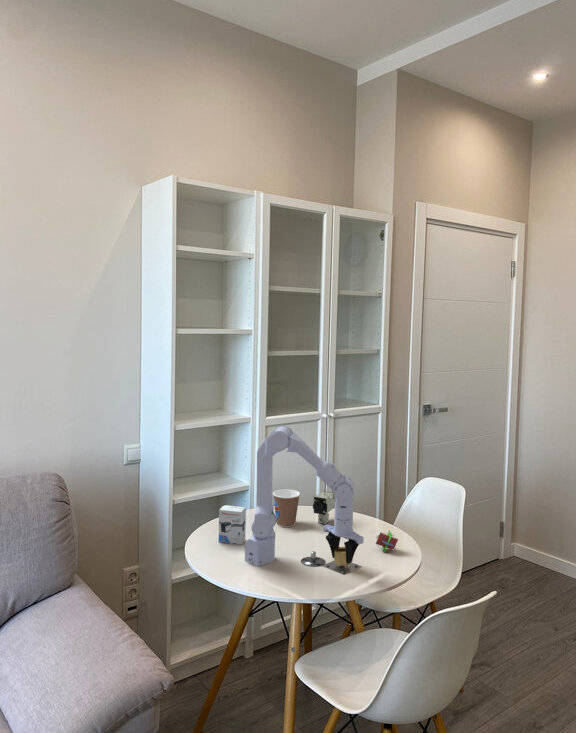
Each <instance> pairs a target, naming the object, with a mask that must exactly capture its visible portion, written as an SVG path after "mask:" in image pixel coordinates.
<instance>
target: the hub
mask: <svg viewBox="0 0 576 733" xmlns="http://www.w3.org/2000/svg"><path fill="white" fill-rule="evenodd" d="M322 567H323V568H326V569H328V570H331V571H333V572H335V573H337V574H341V575H343V576H345V575H348V574H349V573H350V574H351V573H352V572H354V571H356V570H358V569H361V568H362V565H359V564H358V563H357V564H356V563H354V562H353V561H352V562H351V564H349V565H347V566H339V565H337V564H335V563H334V560H332V561H329V562H326V563H325V565H323V566H322Z"/></svg>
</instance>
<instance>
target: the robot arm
mask: <svg viewBox="0 0 576 733" xmlns="http://www.w3.org/2000/svg"><path fill="white" fill-rule="evenodd" d="M265 437H266V438H265V439H264V440H263V442H262V444H260V446H259V447H258V449H257V452H256V508H255V513H254V518H253V522H252V524H251V531H252V535H251V536H250V538H248V539H247V540H245V543H244V561H245V562H246V563H248V564H251V565H253V566H256V567H260V566H262V565H265V564H270V563H273V562H274V561H275V558H276V557H275V555H276V532H275V530H274V527H275V526H276V525H277V522H276V516H275V506H274V505H273V504H274V503H273V457H274V456H275V455H276V454H277V453H280V452H282V451H284V450H286V449H287V450H286V452H287V453H296V454H298V455H299V456H300V457H302V458H303V460H305V461H306V462H307V463H308V464H310V465H311V466H312V467H313V468H314V469H315V473H316V477H318V478H319V479H320V480H321V481H322V482H323V483H324V484H325V485H326V486H327V487H329V489H331V490H332V491H333V493H334V498H335V506H334V519H333V520H334V523H333V525H330V524H324V525H323V527H322V528H323V529H322V530H323V533H328V534H327V535H325V540H326V542H327V543H328V545H329V546H328V547H329V549H330V552H331V553H330V554H331V557H332V558H333V559H334V548H337V547H340V542H341V538H343V539H346V540H347V541H344V542H343V544H344V547H345V549H346V563H348V564H349V563H351V562H352V563H353V560H354V556H355V553H356V550H357V548H358V547H359V545H361V544H364V538H365V537H364V536H363V535H360V534H359V533H357V532H355V531H354V529H353V525H354V524H353V523H354V522H353V521H354V520H353V518H354V503H353V502H354V490H355V485H354V482H353V480H352V479H351V478H350V477H348V476H347V475H346V474H342V473H341V472H340V471H339V470H338V469H337V468H336V467H337V466H336V464H335V463H334V462H332V463H331V461H323V459H321V458H320V457H319V455H318V454H317V453H316V452H315V451H314V450H313V449H311V447H310V446H309V445H308V444H307V443H306V442H305V441H304V440H303V439H302V437H301V436H299V435H298V433H296V432H295V431H293V430H292V429H291V428H290V427H289V426H286V425H281V426H279V427H277V428H275V429H274V430H273V431H272V432H271V433H270V434H269V435H267V436H265Z"/></svg>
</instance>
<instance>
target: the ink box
mask: <svg viewBox="0 0 576 733" xmlns="http://www.w3.org/2000/svg"><path fill="white" fill-rule="evenodd" d="M246 517H247V508H246V507H244V506H243V507H242V506H236V505H223V506H221V507H220V508H219V509H218V542H219V541H220V542H219V543H223V542H228V543H227V544H232V543H236V544H235V545H240V544H241V545H242V544H243V543H244V542H246V526H247V524H246V522H247V521H246V520H247V518H246Z"/></svg>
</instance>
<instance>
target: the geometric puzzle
mask: <svg viewBox="0 0 576 733" xmlns="http://www.w3.org/2000/svg"><path fill="white" fill-rule="evenodd" d="M398 540H399V538H396V536H394V535H393V533H392V532H391V530H388V533H387V531H385V532H378V533H377V534H376V536H375V543H374V544H375V545H376V546H378V547H379V548H381V547H382V548H383V550H384V551H383V550H382V551H383V553H384V552H386V550H388V549H389V550H391V549H394V550H395V548H396V546H397V543H398ZM382 548H381V549H382Z"/></svg>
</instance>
